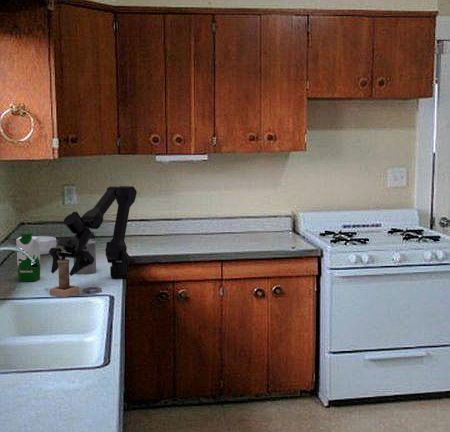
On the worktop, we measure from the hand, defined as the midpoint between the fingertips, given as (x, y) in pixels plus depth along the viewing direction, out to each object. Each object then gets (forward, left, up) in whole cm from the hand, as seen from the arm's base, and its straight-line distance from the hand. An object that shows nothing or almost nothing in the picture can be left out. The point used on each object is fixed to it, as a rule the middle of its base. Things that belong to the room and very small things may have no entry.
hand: (61, 273), depth 246 cm
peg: (-1, -1, -8) cm, 8 cm away
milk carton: (+14, -30, -8) cm, 34 cm away
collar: (-1, -1, -8) cm, 8 cm away
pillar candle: (-9, -40, -8) cm, 42 cm away
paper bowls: (+12, -94, -8) cm, 95 cm away
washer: (-11, -3, -8) cm, 14 cm away
